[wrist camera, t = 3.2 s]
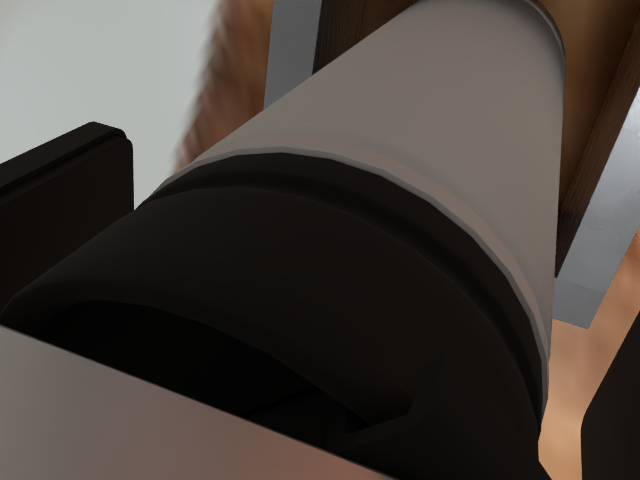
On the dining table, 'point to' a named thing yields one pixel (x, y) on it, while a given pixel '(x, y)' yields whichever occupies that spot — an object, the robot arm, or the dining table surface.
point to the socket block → (588, 182)
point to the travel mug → (354, 254)
